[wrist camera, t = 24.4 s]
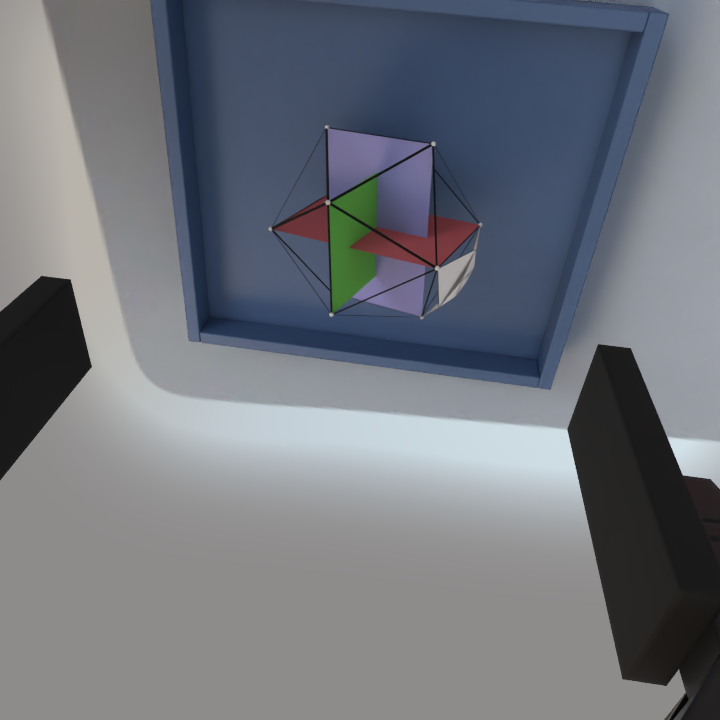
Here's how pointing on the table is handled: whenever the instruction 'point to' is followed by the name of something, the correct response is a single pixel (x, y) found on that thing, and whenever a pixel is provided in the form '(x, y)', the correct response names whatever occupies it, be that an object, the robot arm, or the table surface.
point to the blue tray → (407, 121)
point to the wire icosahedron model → (383, 224)
